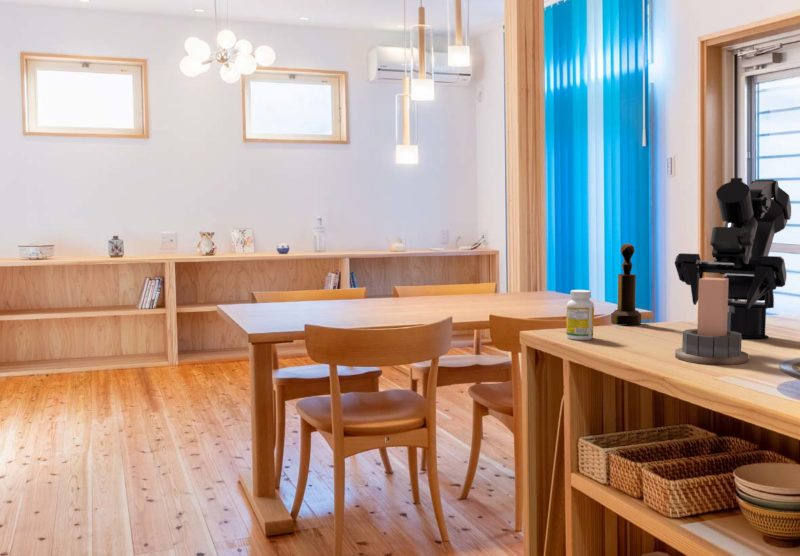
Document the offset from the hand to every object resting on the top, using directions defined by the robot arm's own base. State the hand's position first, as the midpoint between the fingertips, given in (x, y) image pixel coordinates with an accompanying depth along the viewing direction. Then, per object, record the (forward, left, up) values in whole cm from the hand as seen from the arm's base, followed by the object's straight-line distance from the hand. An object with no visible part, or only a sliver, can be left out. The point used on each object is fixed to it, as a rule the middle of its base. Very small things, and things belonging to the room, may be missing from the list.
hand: (720, 305), depth 150 cm
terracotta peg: (+3, +4, -8) cm, 9 cm away
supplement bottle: (+22, -17, -9) cm, 29 cm away
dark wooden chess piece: (+8, -37, -9) cm, 39 cm away
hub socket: (+3, +4, -9) cm, 10 cm away
